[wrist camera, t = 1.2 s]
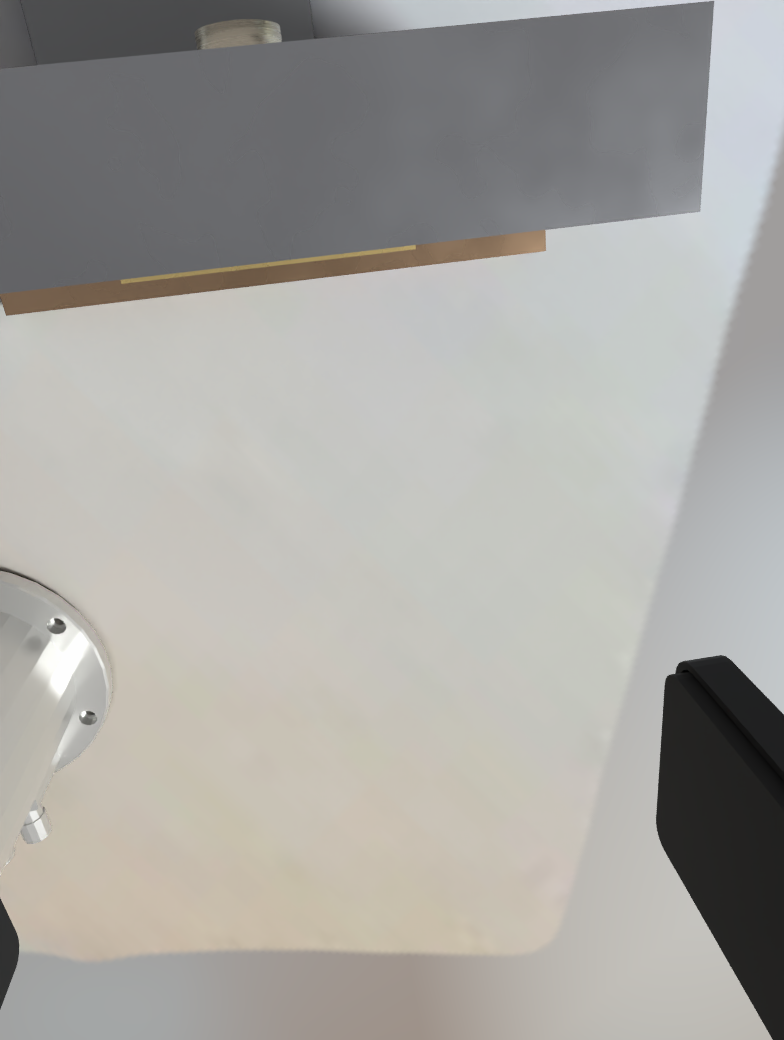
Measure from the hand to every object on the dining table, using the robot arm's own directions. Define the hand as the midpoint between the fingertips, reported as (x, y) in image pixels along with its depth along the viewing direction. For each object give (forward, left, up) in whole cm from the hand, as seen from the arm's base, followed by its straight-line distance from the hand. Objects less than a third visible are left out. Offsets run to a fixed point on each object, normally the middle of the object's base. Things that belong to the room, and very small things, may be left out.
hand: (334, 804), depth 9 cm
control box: (+8, 0, -25) cm, 26 cm away
